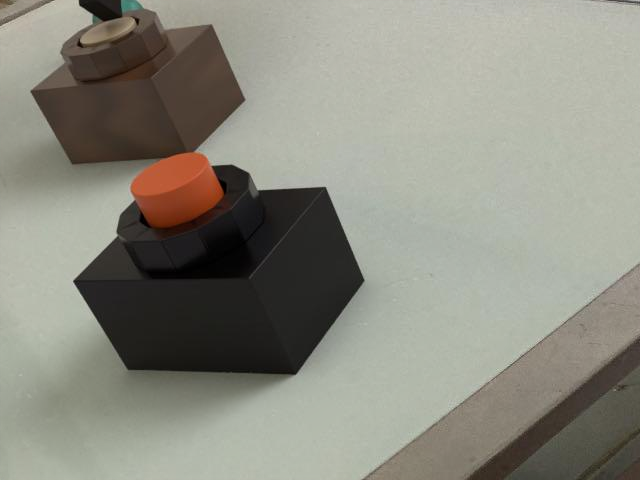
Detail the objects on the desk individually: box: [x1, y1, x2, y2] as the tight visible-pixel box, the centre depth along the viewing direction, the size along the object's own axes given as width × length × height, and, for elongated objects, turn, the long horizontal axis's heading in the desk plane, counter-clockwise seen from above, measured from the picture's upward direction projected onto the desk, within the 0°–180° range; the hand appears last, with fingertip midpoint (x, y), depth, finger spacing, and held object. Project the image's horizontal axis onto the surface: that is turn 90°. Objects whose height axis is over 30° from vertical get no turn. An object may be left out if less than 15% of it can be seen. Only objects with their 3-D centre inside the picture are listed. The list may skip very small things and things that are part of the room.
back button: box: [80, 17, 137, 48], centre depth 80 cm, size 4×4×2 cm
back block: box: [29, 8, 246, 165], centre depth 82 cm, size 11×8×8 cm
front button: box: [129, 151, 224, 228], centre depth 57 cm, size 4×4×2 cm
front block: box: [72, 163, 365, 376], centre depth 59 cm, size 11×8×8 cm
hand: (101, 11), depth 79 cm, fingers closed
